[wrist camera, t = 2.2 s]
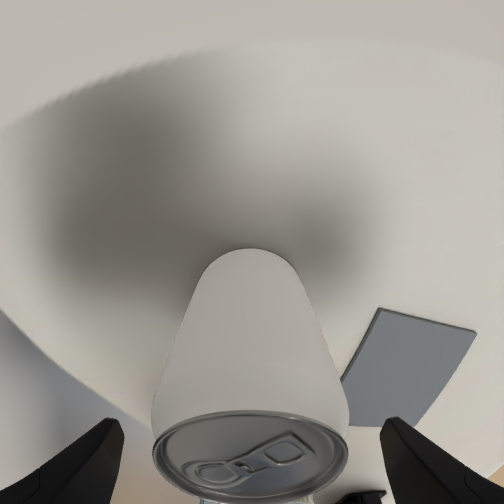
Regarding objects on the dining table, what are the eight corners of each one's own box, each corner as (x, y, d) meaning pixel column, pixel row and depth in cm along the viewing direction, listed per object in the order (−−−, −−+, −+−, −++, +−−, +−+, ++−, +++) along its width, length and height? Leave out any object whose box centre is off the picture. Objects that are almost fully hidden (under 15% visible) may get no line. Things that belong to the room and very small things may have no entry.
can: (175, 285, 18) (95, 441, 6) (263, 223, 17) (290, 353, 5) (238, 356, 20) (231, 521, 8) (321, 307, 18) (389, 467, 7)
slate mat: (412, 423, 23) (414, 426, 22) (315, 419, 22) (316, 423, 21) (474, 331, 20) (477, 333, 19) (379, 308, 19) (381, 310, 18)
